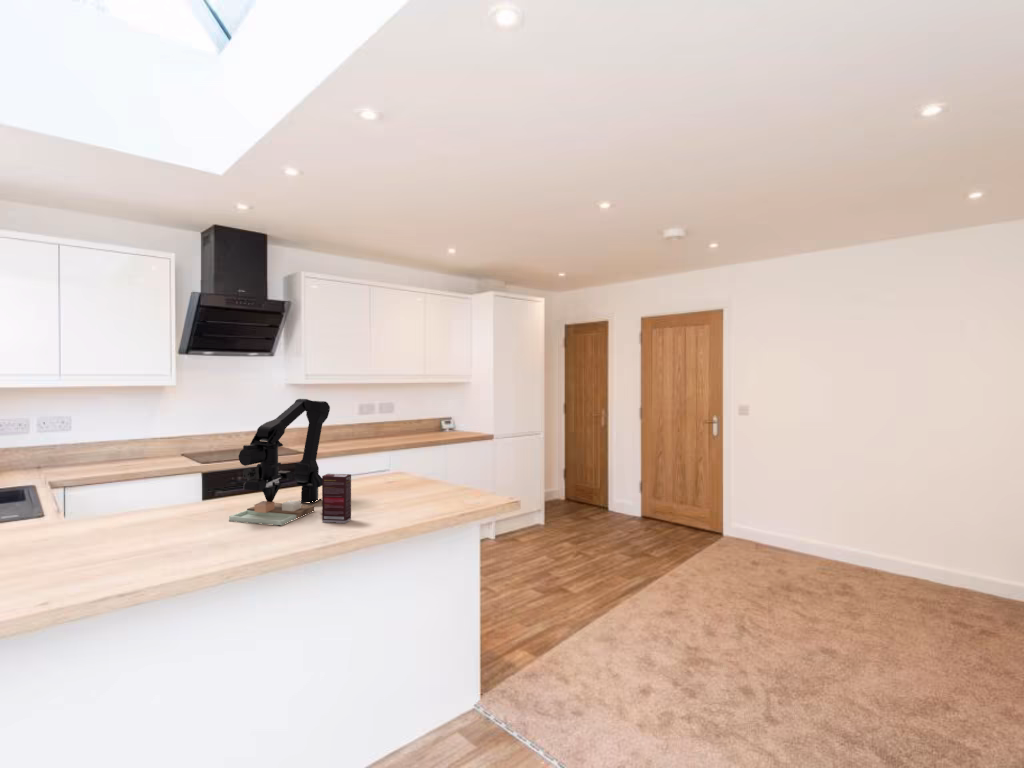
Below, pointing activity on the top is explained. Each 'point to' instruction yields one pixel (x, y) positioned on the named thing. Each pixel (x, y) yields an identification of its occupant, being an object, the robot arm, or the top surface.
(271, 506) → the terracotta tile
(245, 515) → the green tray
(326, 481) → the supplement box
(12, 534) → the top surface
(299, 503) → the cream tile
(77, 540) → the top surface
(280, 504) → the walnut board
